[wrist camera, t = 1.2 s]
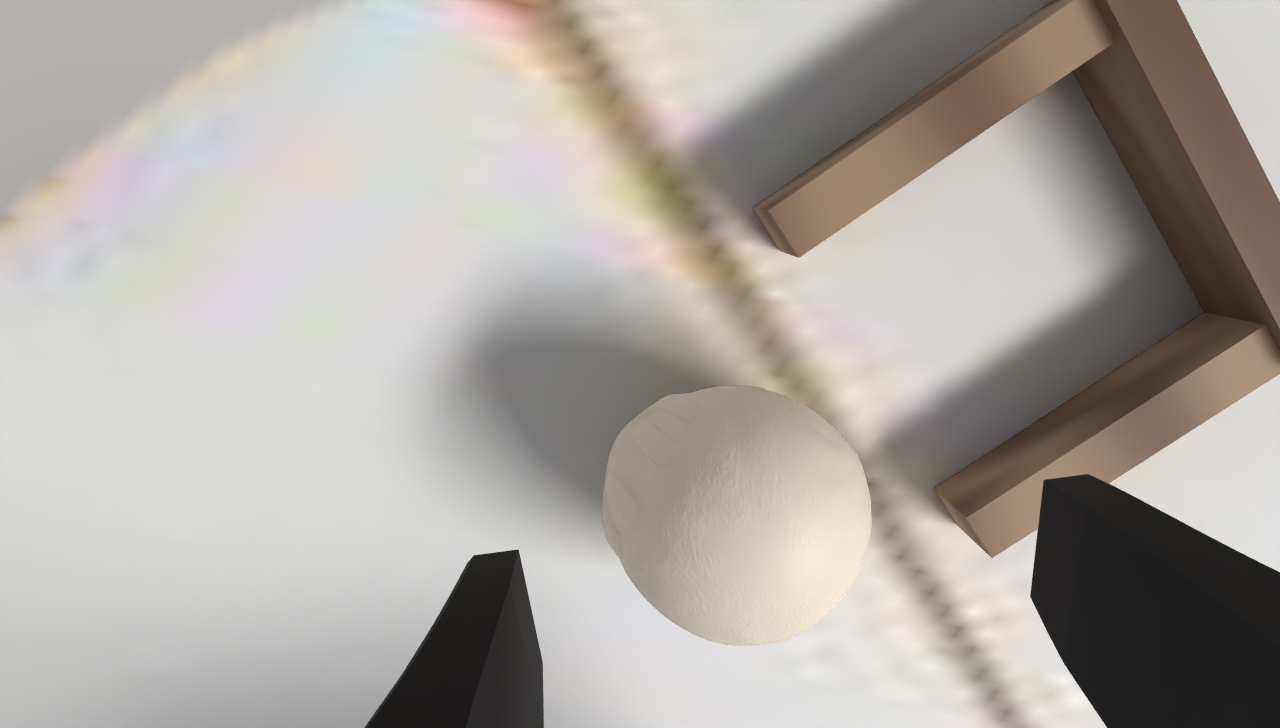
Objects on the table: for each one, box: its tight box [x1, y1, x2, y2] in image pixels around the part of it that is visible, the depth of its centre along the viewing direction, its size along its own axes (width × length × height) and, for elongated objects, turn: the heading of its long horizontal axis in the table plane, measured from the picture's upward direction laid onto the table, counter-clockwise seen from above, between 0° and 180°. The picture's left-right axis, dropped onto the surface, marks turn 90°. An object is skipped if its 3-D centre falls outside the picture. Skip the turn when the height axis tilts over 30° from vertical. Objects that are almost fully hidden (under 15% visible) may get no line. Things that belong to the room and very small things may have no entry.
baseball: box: [603, 385, 872, 646], centre depth 24 cm, size 7×7×7 cm
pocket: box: [752, 0, 1280, 558], centre depth 25 cm, size 11×12×3 cm
